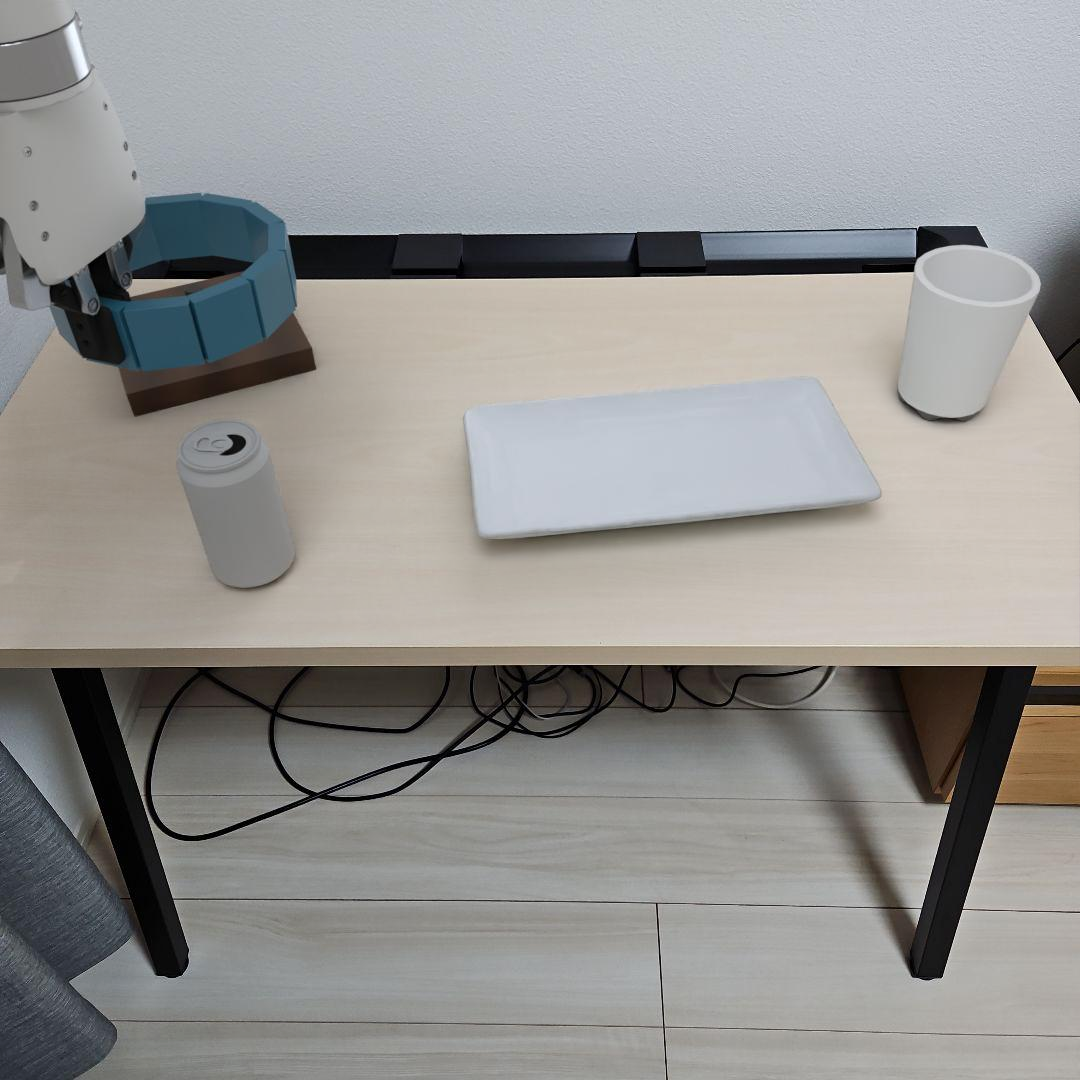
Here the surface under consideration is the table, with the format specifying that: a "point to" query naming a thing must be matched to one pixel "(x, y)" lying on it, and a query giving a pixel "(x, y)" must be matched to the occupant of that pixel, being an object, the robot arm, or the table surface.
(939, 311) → the cup
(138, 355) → the ring
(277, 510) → the beverage can
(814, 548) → the table surface
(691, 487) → the tray
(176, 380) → the platform
